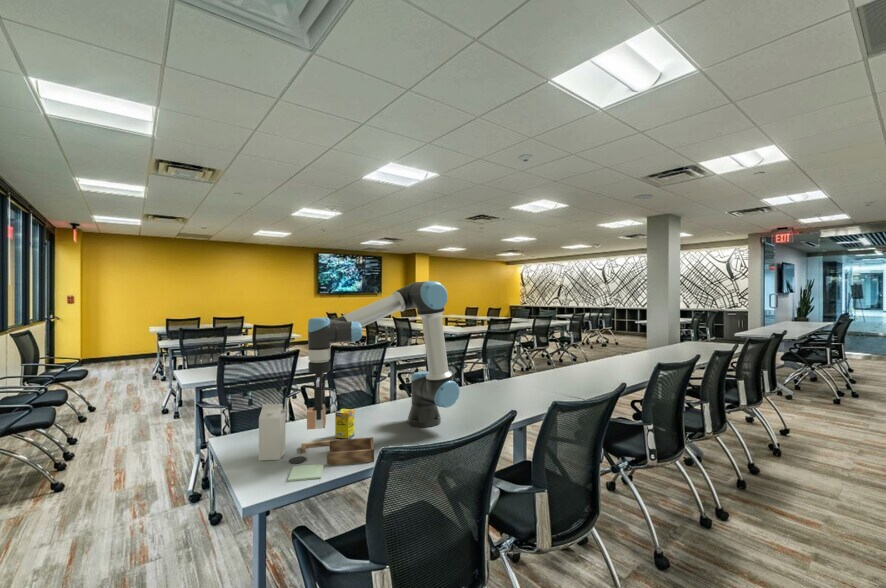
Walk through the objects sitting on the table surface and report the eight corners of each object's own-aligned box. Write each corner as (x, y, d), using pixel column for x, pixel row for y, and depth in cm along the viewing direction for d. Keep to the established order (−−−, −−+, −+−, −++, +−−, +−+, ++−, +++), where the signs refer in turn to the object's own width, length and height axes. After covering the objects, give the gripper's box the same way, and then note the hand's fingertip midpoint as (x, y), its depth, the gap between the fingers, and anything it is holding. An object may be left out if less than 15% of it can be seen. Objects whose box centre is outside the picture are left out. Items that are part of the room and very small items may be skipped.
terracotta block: (325, 422, 148) (325, 406, 148) (324, 428, 142) (324, 411, 142) (308, 424, 147) (308, 407, 147) (307, 429, 141) (306, 412, 141)
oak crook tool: (338, 443, 160) (338, 439, 160) (340, 448, 154) (340, 444, 154) (301, 447, 156) (301, 443, 156) (301, 453, 150) (301, 448, 150)
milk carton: (265, 453, 150) (265, 402, 150) (285, 452, 150) (285, 401, 151) (258, 461, 143) (258, 407, 143) (279, 460, 143) (279, 406, 143)
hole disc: (307, 456, 147) (307, 455, 147) (305, 463, 141) (305, 462, 141) (290, 457, 145) (290, 456, 145) (287, 464, 140) (287, 463, 140)
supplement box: (348, 440, 163) (348, 413, 163) (334, 439, 164) (334, 412, 164) (354, 435, 169) (354, 409, 169) (341, 434, 170) (341, 408, 170)
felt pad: (323, 465, 139) (323, 463, 139) (320, 478, 129) (320, 476, 129) (293, 468, 137) (293, 466, 137) (287, 481, 127) (287, 479, 127)
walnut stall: (373, 447, 155) (373, 437, 155) (374, 461, 142) (374, 450, 142) (329, 451, 151) (329, 440, 152) (326, 465, 139) (326, 453, 139)
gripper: (311, 357, 153) (312, 418, 153) (304, 365, 135) (305, 435, 135) (332, 356, 155) (332, 416, 155) (328, 364, 136) (328, 433, 136)
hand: (320, 425), depth 145 cm, fingers closed on terracotta block, 6 cm apart
